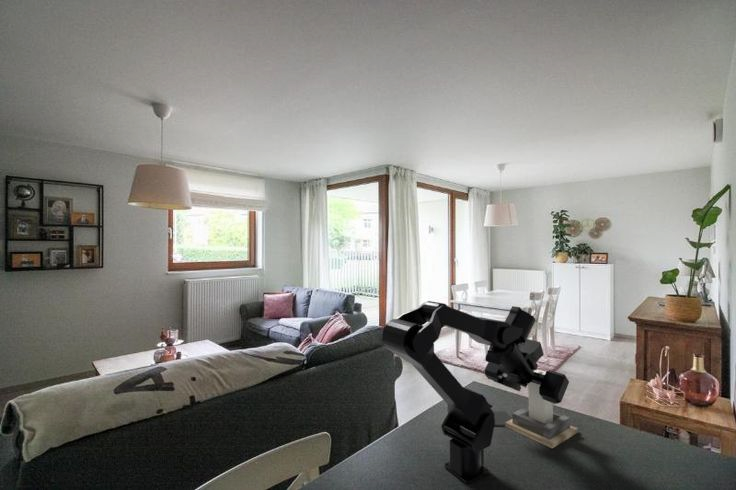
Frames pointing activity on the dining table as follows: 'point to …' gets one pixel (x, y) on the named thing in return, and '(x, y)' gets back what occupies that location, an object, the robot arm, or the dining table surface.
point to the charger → (539, 403)
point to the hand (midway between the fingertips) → (537, 395)
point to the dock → (542, 427)
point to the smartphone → (501, 418)
